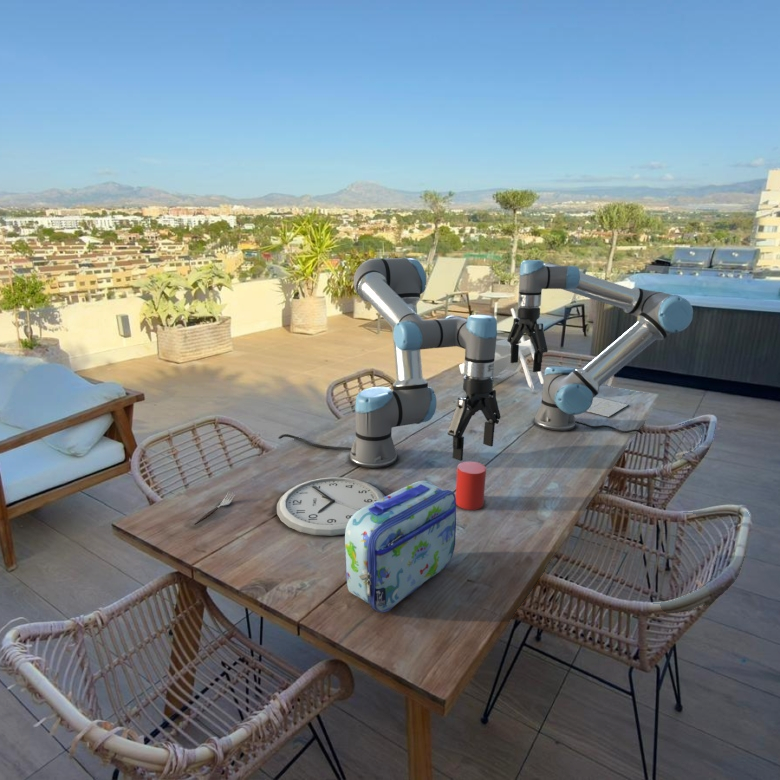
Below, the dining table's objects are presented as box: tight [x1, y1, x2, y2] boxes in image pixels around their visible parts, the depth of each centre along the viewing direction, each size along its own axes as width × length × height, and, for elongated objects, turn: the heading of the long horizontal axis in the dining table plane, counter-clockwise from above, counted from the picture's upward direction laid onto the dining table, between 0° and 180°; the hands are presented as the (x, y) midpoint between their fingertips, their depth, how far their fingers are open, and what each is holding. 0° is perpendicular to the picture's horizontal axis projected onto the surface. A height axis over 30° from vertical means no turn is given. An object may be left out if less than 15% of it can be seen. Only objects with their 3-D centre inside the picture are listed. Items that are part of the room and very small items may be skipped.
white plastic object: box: [458, 307, 544, 393], centre depth 255 cm, size 37×45×31 cm
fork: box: [193, 490, 237, 526], centre depth 138 cm, size 3×16×2 cm, turn 160°
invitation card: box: [586, 396, 629, 418], centre depth 226 cm, size 21×1×15 cm
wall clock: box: [276, 476, 386, 537], centre depth 142 cm, size 30×2×30 cm
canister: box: [455, 461, 487, 511], centre depth 144 cm, size 8×8×11 cm
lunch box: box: [344, 480, 457, 614], centre depth 109 cm, size 26×11×21 cm, turn 135°
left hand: (473, 451), depth 141 cm, fingers open, 13 cm apart
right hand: (525, 367), depth 185 cm, fingers open, 13 cm apart
